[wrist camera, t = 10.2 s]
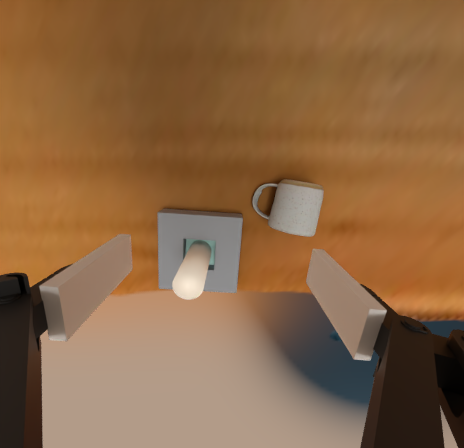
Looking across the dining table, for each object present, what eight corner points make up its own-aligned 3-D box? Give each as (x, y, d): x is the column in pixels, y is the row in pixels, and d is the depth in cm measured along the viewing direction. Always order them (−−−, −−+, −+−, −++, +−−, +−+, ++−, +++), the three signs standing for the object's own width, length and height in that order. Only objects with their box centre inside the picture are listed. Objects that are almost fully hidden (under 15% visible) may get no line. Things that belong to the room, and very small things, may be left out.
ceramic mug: (315, 183, 38) (336, 186, 30) (304, 227, 40) (321, 241, 32) (256, 174, 37) (262, 175, 30) (248, 219, 39) (251, 230, 32)
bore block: (163, 208, 38) (157, 212, 35) (241, 213, 39) (242, 218, 35) (164, 278, 42) (158, 288, 39) (235, 283, 42) (236, 293, 39)
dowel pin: (189, 239, 38) (172, 270, 27) (212, 241, 38) (204, 272, 27) (189, 260, 39) (172, 298, 28) (211, 261, 39) (203, 300, 28)
